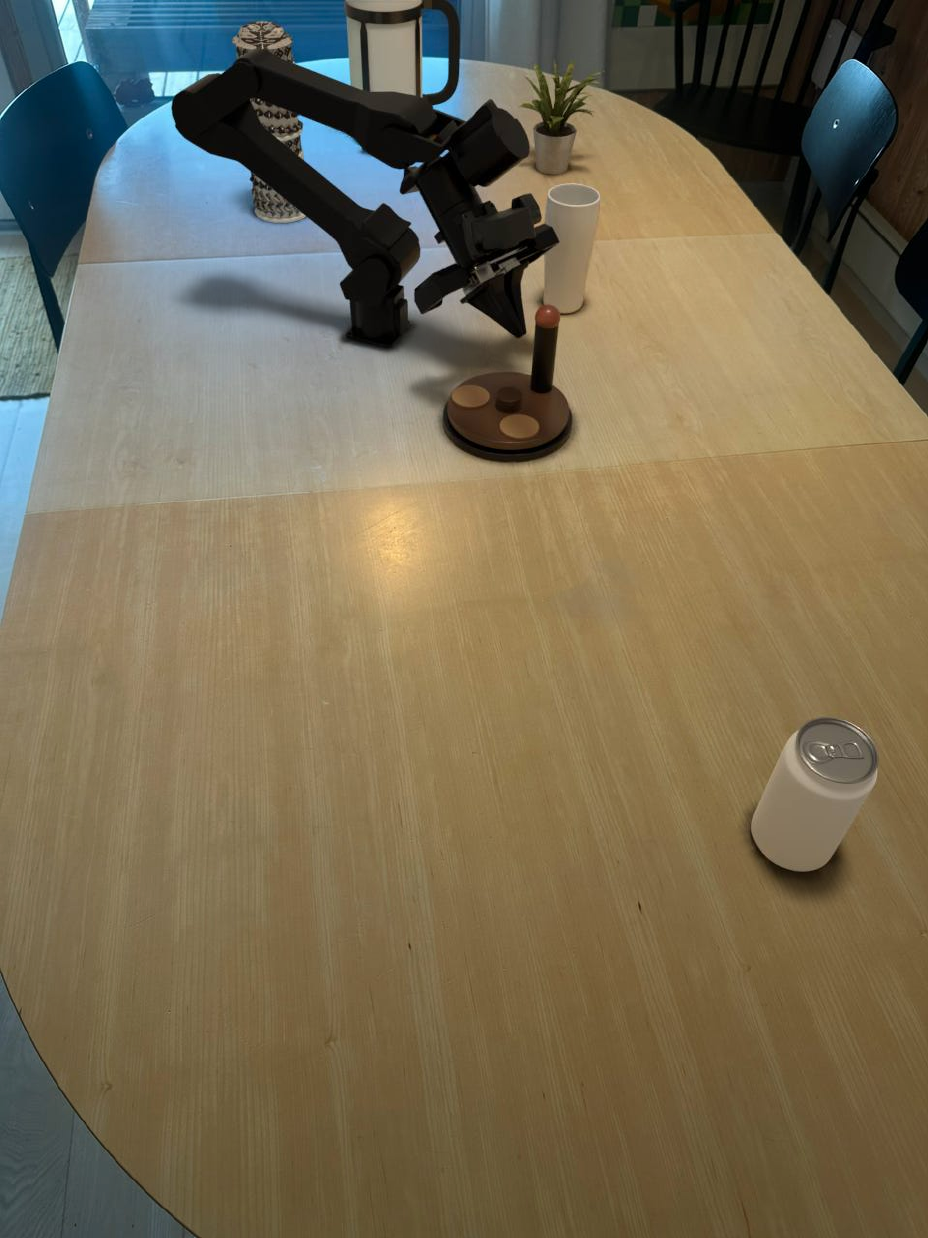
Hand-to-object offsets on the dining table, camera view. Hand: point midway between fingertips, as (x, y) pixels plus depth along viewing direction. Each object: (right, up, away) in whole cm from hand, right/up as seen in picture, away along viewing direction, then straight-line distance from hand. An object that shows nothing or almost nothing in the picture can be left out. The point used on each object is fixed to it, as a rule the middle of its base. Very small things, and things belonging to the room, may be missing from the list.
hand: (522, 336), depth 112 cm
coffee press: (-19, +51, +57) cm, 79 cm away
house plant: (+8, +42, +49) cm, 65 cm away
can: (+19, -50, -35) cm, 64 cm away
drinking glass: (+7, +10, +19) cm, 23 cm away
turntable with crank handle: (-2, -9, 0) cm, 9 cm away
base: (-2, -10, +1) cm, 10 cm away
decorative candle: (-34, +30, +37) cm, 59 cm away
